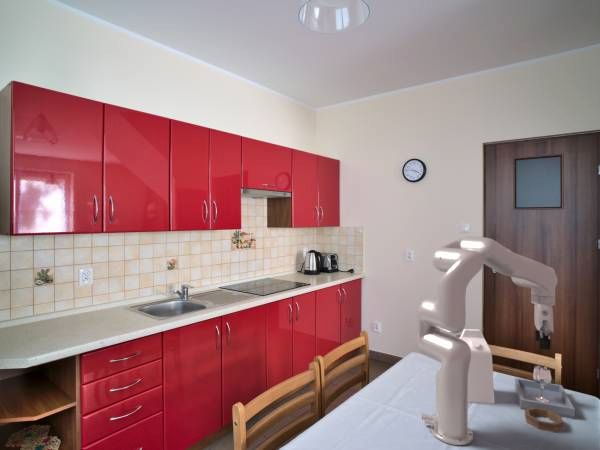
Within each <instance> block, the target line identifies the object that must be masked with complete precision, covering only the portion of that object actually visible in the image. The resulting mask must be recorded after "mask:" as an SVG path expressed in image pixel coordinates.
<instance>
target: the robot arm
mask: <svg viewBox="0 0 600 450" xmlns="http://www.w3.org/2000/svg"><path fill="white" fill-rule="evenodd" d="M431 260H432V265H433V267H434V268H435V269H436V270H437V271H438V272H439V271H440V272H441V273H442V272H443V273H444V274H443V275H442V276H441V278H440V279H439V281H438V283H437V288H436V298H435V297H427V298H425V299H424V300H422V301H421V303H420V304H419V307H418V309H417V317H416V318H417V319H416V320H417V321H416V322H417V325H416V326H417V345H418V348H419V351H420V352H421V354H423V355H424V356H425V357H428V358H430V359H432V360H435V361H436V362H438V363H439V364H441V365H440V367H439V370H438V371H437V372H436V374H435V413H434V414H432V415H430V414H428V413H427V414H426V413H422V414H421V420H422V421H424V424H426V425H430V432H431V434H432V435H433V436H434V437H435V438H436V439H438V440H439V441H442V442H444V443H445V444H450V445H456V446H464V445H469V444H470V443H472V442H473V440H474V433H473V431H472V430H471V429H470V428H469V426H468V424H469V423H468V421H469V418H468V415H469V413H468V412H469V411H468V410H469V409H468V407H469V405H468V404H469V403H468V370H469V364H470V360H471V349H470V347H469V345H468V344H467V343H466V342H465V341H463V340H462V339H460V337H458V336H455V335H452V334H459V333H461V332H463V330H464V329H465V326H466V320H467V318H466V314H467V313H466V311H467V310H466V293H467V288H468V285H469V284H470V282H471V281H472V280H473V279H474V277H476V276H477V274H478V273H479V272H480V271H481V270H482V267H483V265H485V266H487V267H489V268H491V269H492V270H494V271H496V272H497V273H499V274H501V275H504V276H507V277H510V278H511V281H512V282H513V284H515V285H516V286H519V287H523V288H528V289H531V290H530V302H531V304H534V307H533V310H534V311H533V312H534V313H533V317H534V318H533V319H534V327H535V330H534V331H535V334H534V335H535V336H534V337H535V341H537V342H539V349H540V350H547V351H549V350H551V334H550V333H552V334H553V333H554V310H553V309H554V308H553V306H555V305H556V287H557V285H558V276H557V274H556V270H555V269H554V268H553V267H550V266H547V265H546V264H544V263H542V262H540V261H537V260H534V259H532V258H529V257H526V256H524V255H522V254H519V253H516V252H514V251H512V250H511V249H509V248H507V247H506V246H503V244H501V243H499V242H498V241H496V240H494V239H493V238H490V237H485V236H484V237H483V236H481V237H480V236H464V237H461V238H458V239H456V240H454V241H451V242H449V243H447V244H444V245H443V246H440V247H438V248H437V249H436V250H435V251H434V253H433V255H432V259H431ZM442 331H444V332H442ZM446 332H447V333H446ZM449 333H450V334H449ZM451 333H452V334H451Z"/></svg>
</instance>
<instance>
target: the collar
mask: <svg viewBox="0 0 600 450" xmlns="http://www.w3.org/2000/svg"><path fill="white" fill-rule="evenodd" d="M536 417H542V418H547V419H549V420H550V421H553V422H549V421H544V420H540V419H538V418H536ZM524 418H525V421H526V424H528V425H530V426H532V427H534V428H536V429H537V430H541V431H547V432H550V433H558V432H560V431H563V430H565V428H564V427H565V426H564V425H565V424H564V423H565V422H564V419H563V417H561V416H560V415H558V414H556V413H554V412H552V411H550V410H548V409H543V408H537V407H532V408H527V409H525V410H524Z"/></svg>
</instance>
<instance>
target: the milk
mask: <svg viewBox="0 0 600 450" xmlns="http://www.w3.org/2000/svg"><path fill="white" fill-rule="evenodd" d="M461 332H462V333H461V336H460V337H459V338H460V339H462V340H463V341H465V342H466V343H467V344H468V345H469V347H470V349H471V360H470V364H469V370H468V404H469V403H470V404H471V403H472V404H491V405H492V404H495V392H494V391H495V387H494V368H493V354H492V351H491V349H490V346H489V344H488V342H487V341H486V339H485V336H484V334H483V333H482V331H481V329H476V328H474V329H473V328H471V329H470V328H464V329H463V331H461Z"/></svg>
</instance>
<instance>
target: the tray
mask: <svg viewBox="0 0 600 450" xmlns="http://www.w3.org/2000/svg"><path fill="white" fill-rule="evenodd" d="M543 387H544V389H543V397H544V398H547V399H548V400H549V402H548V403H544V402H540V401H537V400H536V399H535V398H536V397H541V395H542V391H541V385H539V384H537V383H536V382H535V381H534V380H530V379H526V378H525V379H524V378H517V377H515V378H514V388H515V391H516V396H517V400H518V404H519V407H520V410H523V411H525V409H527V408H532V407H537V408H543V409H548V410H550V411H552V412H554V413H556V414H558V415H560V416H561V417H562V418H566V419H571V420H575V407H574V406H573V404H572V402H571V399H570V398H569V396H568V394H567V392H566V391H565V389H564V387H563V385H562V384H556V383H552V382H551V383H550V384H549V385H546V386H543Z"/></svg>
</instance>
